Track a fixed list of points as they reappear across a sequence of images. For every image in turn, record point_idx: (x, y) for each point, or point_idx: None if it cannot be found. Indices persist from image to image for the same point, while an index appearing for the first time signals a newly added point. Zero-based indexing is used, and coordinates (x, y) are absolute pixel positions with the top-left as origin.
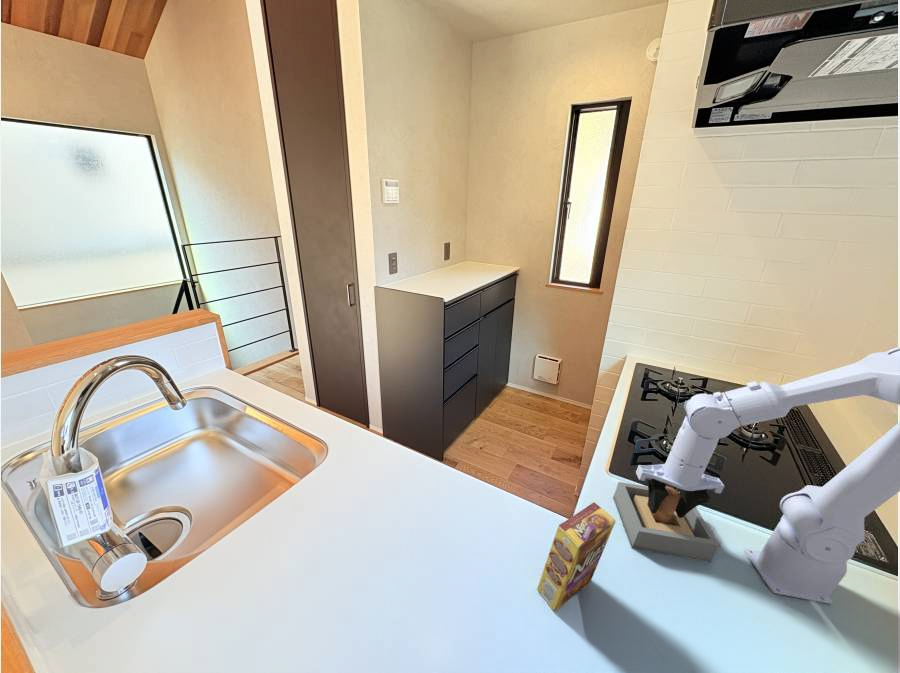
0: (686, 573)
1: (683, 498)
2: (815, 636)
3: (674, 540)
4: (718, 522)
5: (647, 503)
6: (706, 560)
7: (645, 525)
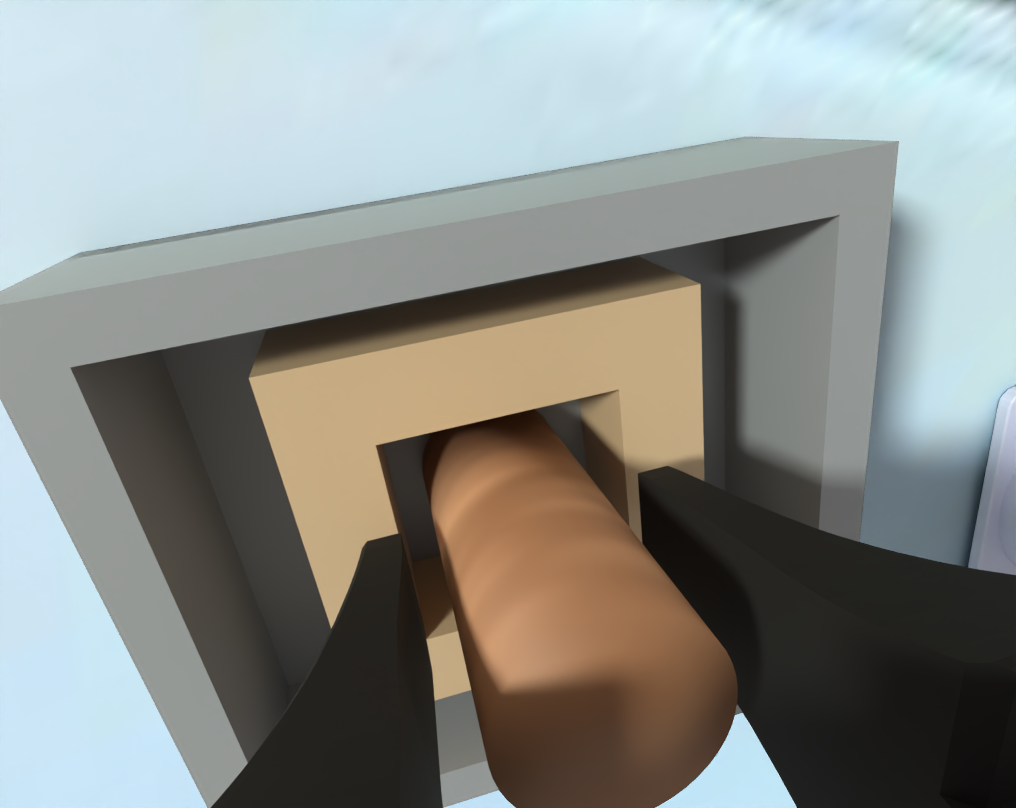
0: None
1: (761, 648)
2: None
3: None
4: (992, 173)
5: (386, 439)
6: None
7: None
